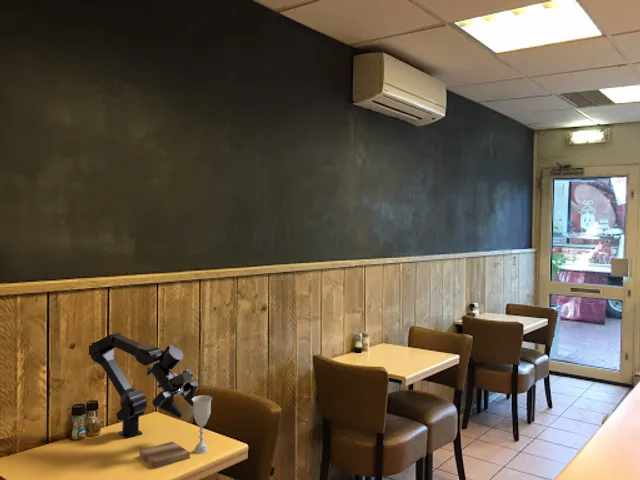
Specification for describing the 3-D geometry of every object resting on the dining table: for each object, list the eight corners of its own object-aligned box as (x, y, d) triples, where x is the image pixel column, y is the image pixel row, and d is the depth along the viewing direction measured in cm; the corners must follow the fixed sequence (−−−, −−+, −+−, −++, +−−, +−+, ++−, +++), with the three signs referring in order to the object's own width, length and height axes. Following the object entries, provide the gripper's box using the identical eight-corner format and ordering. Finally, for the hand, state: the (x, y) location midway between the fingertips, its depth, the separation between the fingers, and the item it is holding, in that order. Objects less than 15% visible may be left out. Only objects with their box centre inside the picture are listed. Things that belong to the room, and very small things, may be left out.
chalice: (206, 456, 184) (207, 402, 183) (187, 453, 185) (188, 400, 185) (214, 447, 191) (215, 396, 191) (196, 445, 192) (197, 394, 192)
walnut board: (139, 456, 182) (139, 450, 182) (172, 447, 191) (172, 441, 191) (155, 468, 174) (156, 461, 174) (189, 458, 182) (190, 452, 182)
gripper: (159, 369, 184) (185, 406, 179) (194, 357, 201) (219, 392, 196) (141, 389, 187) (166, 426, 183) (177, 376, 204) (201, 410, 199)
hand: (189, 413), depth 190 cm, fingers open, 9 cm apart
